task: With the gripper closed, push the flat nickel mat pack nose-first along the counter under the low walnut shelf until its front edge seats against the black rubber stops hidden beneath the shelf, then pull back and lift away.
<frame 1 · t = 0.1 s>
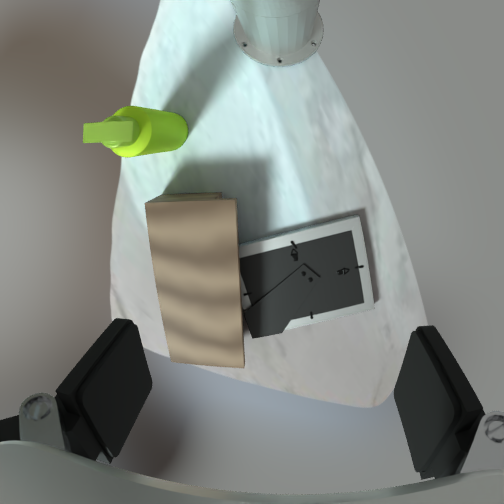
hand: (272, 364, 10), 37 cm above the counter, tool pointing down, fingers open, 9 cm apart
picture frame: (302, 275, 49), on the counter
soap dispenser: (173, 131, 43), on the counter
walnut shelf: (208, 276, 50), on the counter
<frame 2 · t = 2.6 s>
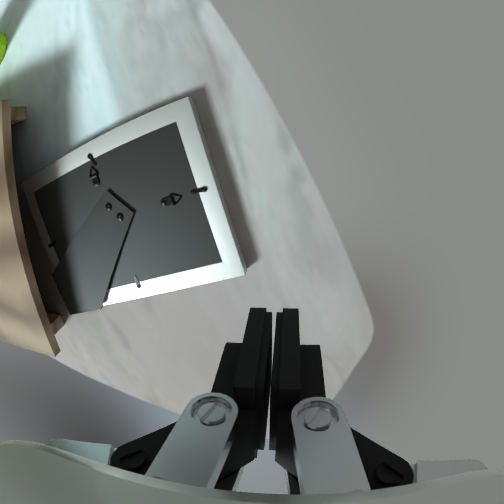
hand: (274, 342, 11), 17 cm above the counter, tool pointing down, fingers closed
picture frame: (124, 215, 29), on the counter
walnut shelf: (21, 224, 29), on the counter
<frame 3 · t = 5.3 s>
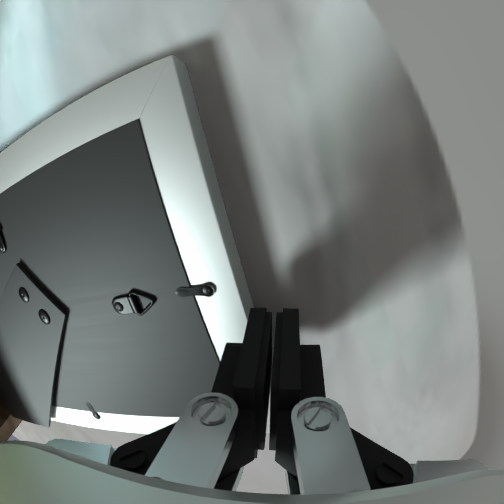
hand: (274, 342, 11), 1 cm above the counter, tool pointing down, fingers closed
picture frame: (61, 298, 14), on the counter, touching gripper
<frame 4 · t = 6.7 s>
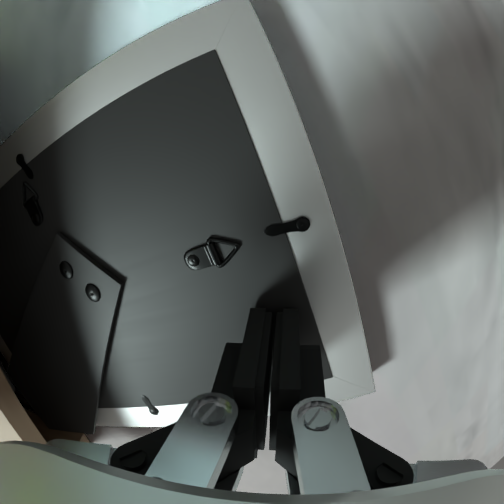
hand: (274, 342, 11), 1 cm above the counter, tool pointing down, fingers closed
picture frame: (106, 277, 14), on the counter
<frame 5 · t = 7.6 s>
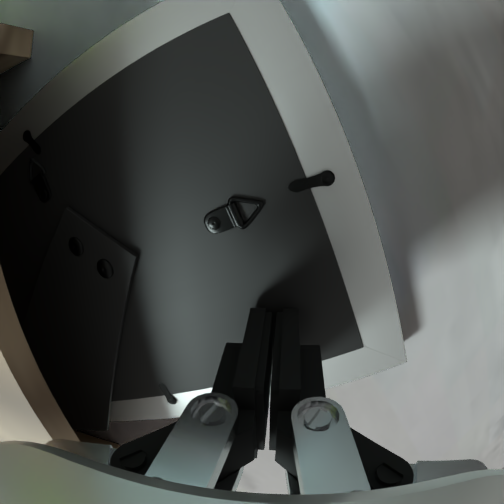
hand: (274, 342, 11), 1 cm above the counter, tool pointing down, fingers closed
picture frame: (118, 258, 13), on the counter, touching gripper, walnut shelf
walnut shelf: (22, 295, 14), on the counter
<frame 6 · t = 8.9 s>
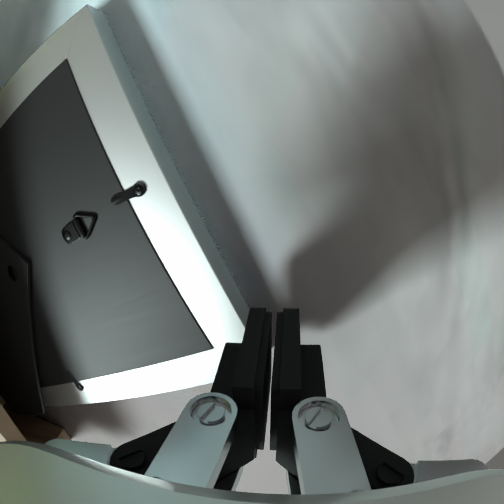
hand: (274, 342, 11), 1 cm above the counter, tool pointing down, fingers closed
picture frame: (36, 265, 14), on the counter
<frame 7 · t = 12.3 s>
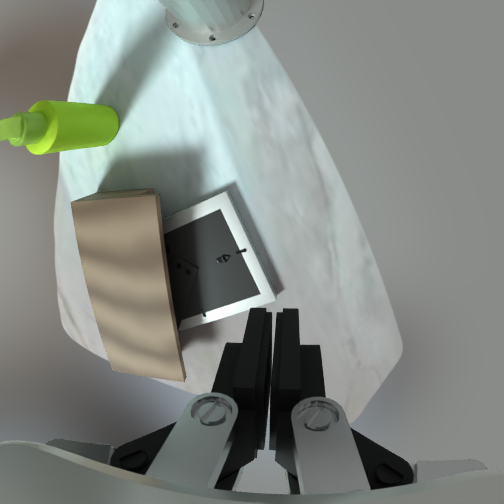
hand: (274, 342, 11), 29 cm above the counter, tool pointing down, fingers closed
picture frame: (187, 269, 44), on the counter
soap dispenser: (105, 125, 37), on the counter
walnut shelf: (146, 280, 44), on the counter
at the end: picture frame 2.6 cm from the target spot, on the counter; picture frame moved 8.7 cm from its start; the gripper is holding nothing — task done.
